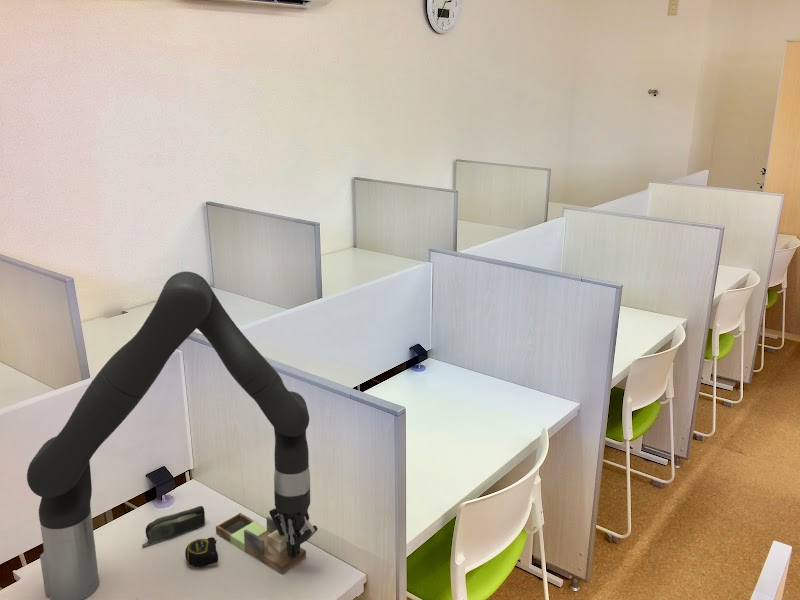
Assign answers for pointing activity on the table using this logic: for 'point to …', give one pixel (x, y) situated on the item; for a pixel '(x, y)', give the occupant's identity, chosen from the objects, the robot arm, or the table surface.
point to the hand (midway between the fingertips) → (293, 555)
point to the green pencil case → (174, 525)
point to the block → (277, 544)
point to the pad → (238, 536)
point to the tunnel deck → (259, 543)
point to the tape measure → (201, 552)
